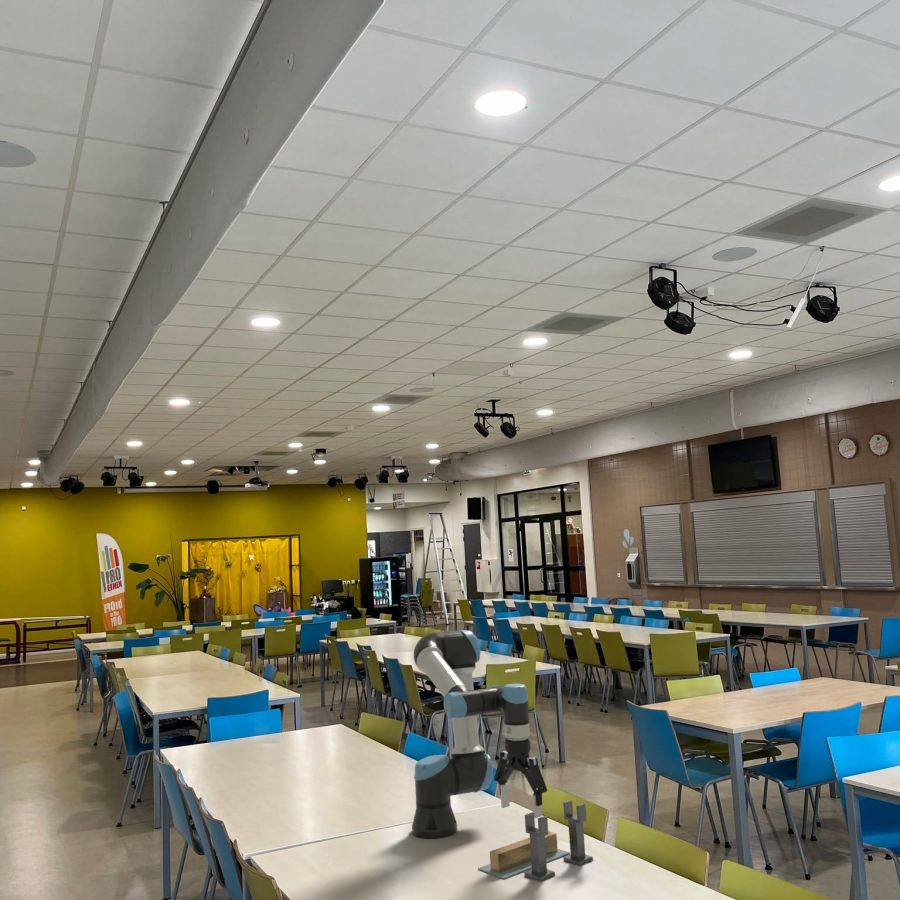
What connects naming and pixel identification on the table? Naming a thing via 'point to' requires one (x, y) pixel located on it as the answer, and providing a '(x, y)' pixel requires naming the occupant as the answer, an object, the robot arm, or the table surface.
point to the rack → (538, 834)
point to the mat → (522, 867)
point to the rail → (518, 853)
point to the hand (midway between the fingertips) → (521, 811)
